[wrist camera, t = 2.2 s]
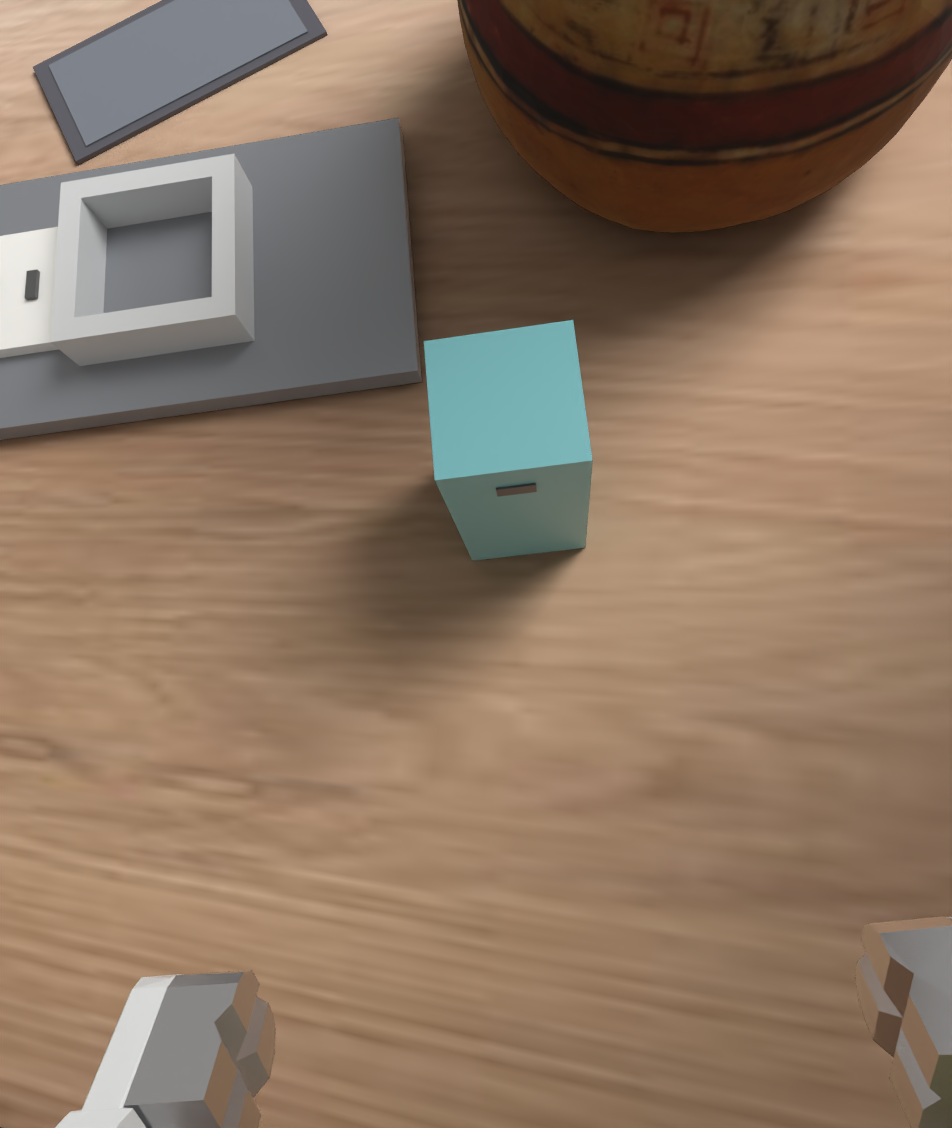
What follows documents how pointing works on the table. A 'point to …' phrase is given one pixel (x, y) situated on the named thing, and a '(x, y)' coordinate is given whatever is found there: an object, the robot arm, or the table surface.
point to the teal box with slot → (511, 438)
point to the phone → (166, 64)
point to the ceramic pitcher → (702, 97)
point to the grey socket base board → (207, 281)
